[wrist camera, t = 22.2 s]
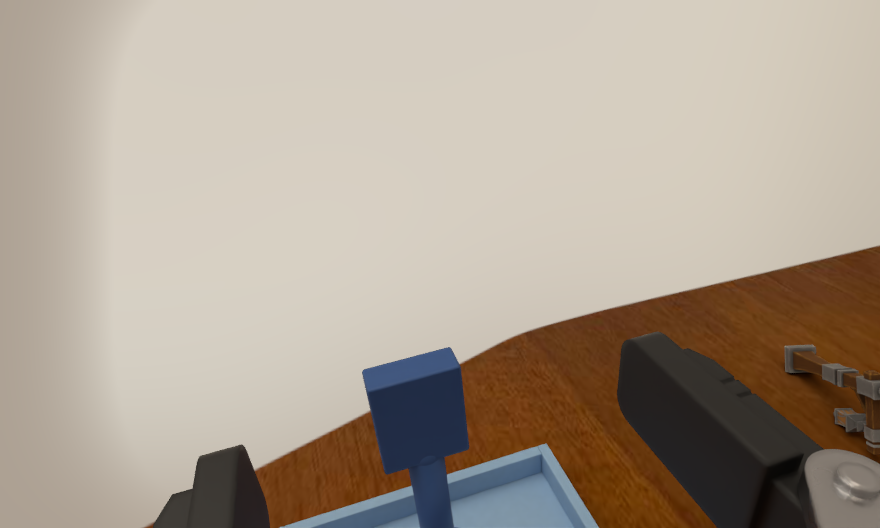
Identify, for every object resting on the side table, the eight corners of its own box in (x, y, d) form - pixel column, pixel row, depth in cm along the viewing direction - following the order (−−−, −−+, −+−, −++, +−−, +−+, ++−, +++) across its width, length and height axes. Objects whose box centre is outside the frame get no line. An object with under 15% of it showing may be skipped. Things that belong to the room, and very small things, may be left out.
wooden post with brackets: (873, 463, 27) (873, 379, 27) (785, 408, 35) (784, 342, 35) (910, 462, 27) (911, 378, 26) (813, 407, 35) (813, 341, 34)
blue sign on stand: (406, 679, 21) (343, 446, 15) (383, 561, 25) (326, 343, 19) (523, 633, 22) (512, 397, 16) (481, 527, 26) (459, 310, 20)
